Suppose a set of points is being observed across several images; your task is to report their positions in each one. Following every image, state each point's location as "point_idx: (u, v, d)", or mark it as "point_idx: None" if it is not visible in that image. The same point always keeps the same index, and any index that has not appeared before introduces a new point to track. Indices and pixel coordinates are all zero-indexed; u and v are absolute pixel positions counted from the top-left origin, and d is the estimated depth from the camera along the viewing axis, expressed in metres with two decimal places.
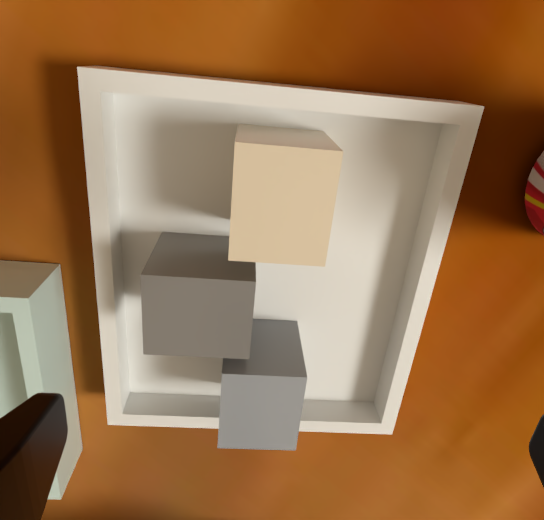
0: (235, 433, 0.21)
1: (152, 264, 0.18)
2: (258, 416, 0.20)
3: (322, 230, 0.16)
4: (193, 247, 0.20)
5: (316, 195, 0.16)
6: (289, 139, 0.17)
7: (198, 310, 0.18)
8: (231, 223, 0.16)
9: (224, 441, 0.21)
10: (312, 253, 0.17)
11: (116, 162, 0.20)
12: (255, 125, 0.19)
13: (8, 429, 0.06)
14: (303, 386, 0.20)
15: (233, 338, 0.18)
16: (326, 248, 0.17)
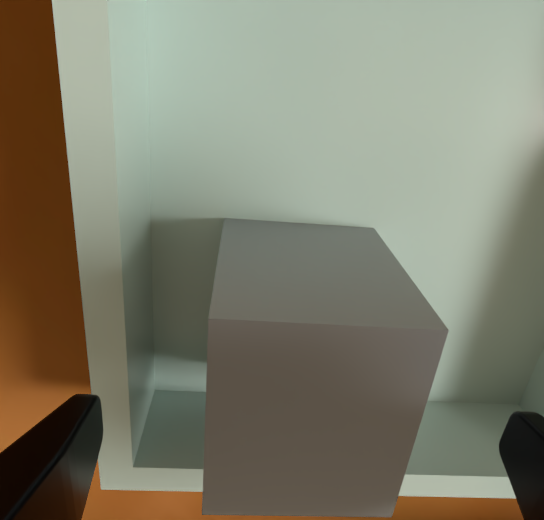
0: (246, 479, 0.08)
1: None
2: (306, 438, 0.08)
3: None
4: None
5: None
6: None
7: None
8: None
9: (218, 499, 0.08)
10: None
11: None
12: None
13: (52, 430, 0.06)
14: (434, 356, 0.07)
15: None
16: None
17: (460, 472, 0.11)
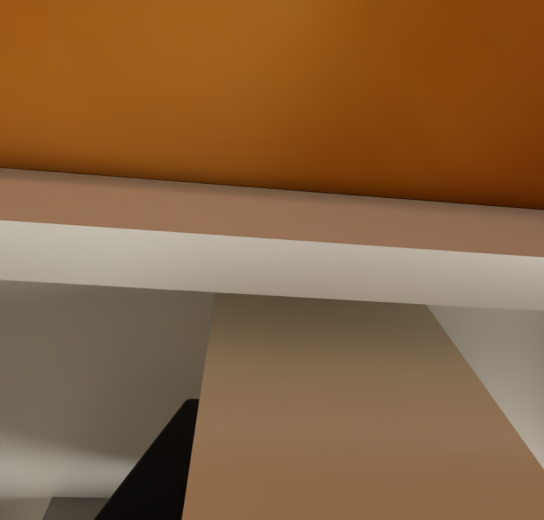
0: None
1: None
2: None
3: None
4: None
5: None
6: (373, 433, 0.05)
7: None
8: None
9: None
10: None
11: None
12: (259, 300, 0.07)
13: (182, 435, 0.07)
14: None
15: None
16: None
17: None
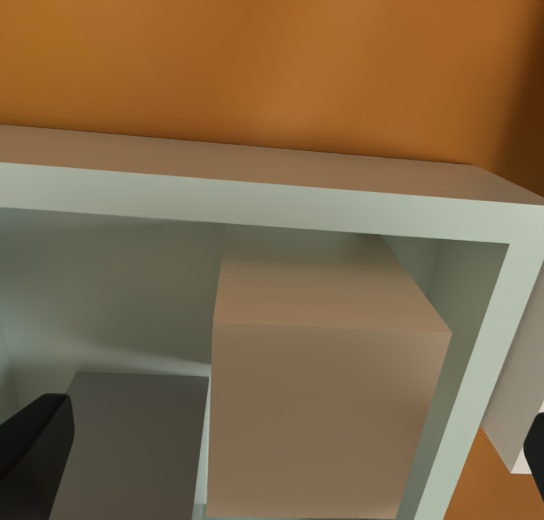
0: None
1: None
2: None
3: (395, 465, 0.08)
4: None
5: (388, 410, 0.08)
6: (327, 282, 0.08)
7: None
8: (210, 460, 0.08)
9: None
10: (372, 500, 0.09)
11: None
12: None
13: (17, 429, 0.06)
14: None
15: None
16: (400, 492, 0.08)
17: None
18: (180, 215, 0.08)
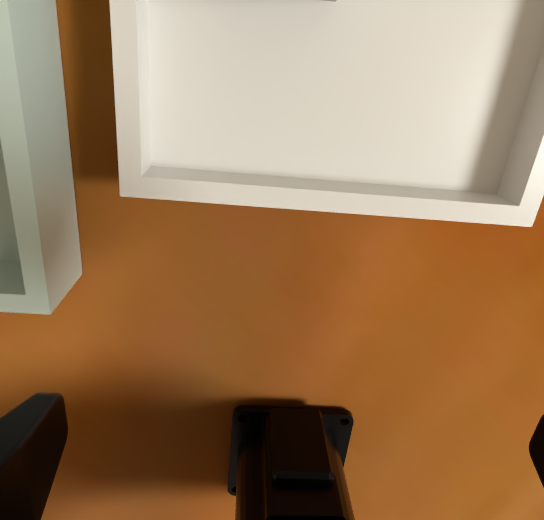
0: None
1: None
2: None
3: None
4: None
5: None
6: None
7: None
8: None
9: None
10: None
11: None
12: None
13: (8, 429, 0.06)
14: None
15: None
16: None
17: None
18: None
